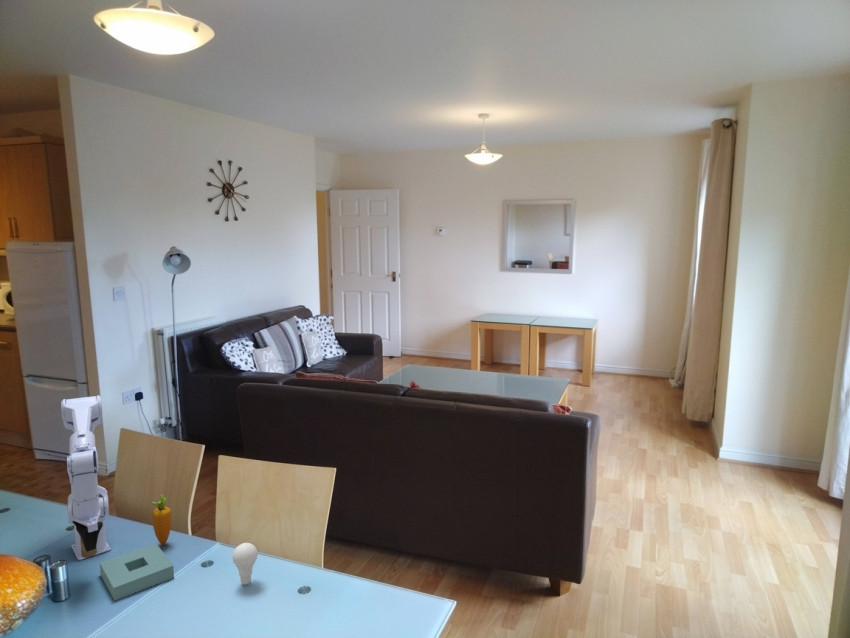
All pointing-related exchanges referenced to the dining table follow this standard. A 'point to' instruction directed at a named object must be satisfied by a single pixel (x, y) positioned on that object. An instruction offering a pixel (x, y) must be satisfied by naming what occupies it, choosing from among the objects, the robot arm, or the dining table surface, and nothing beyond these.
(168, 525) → the carrot
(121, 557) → the socket block
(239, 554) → the lightbulb
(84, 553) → the peg
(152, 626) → the dining table surface
